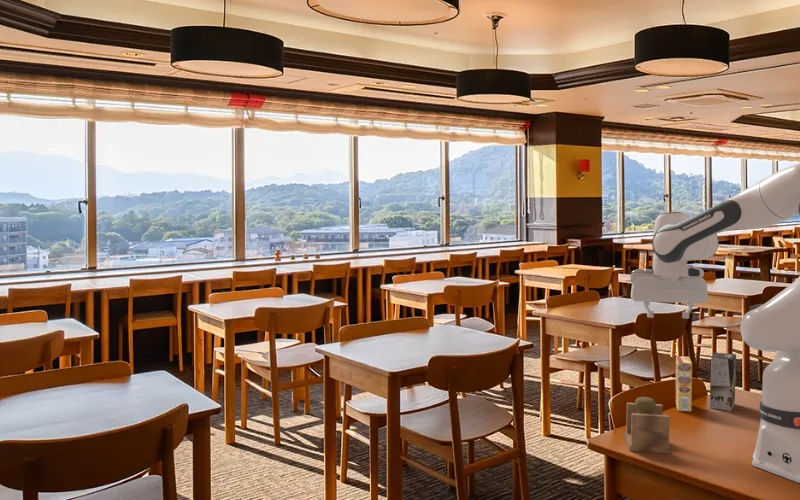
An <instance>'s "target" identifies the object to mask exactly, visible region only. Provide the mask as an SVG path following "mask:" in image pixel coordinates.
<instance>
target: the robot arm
mask: <svg viewBox="0 0 800 500" xmlns="http://www.w3.org/2000/svg"><path fill="white" fill-rule="evenodd" d="M798 214H799V215H798ZM797 215H798V216H800V163H796V164H794V165H790V166H788V167H785V168H783V169H780V170H778V171H775V172H773V173H772V174H770V175H768V176H766V177H764V178H763V179H761V180H759V181H757V182H756V183H754V184H753V185H751V186H749V187H747V188H745V189H743V190H742V191H740V192H738V193H736V194H735V195H733V196H731V197H730V198H728V199H725V200H724V201H722V202H721V203H718V204H715V206H712V207H710V208H708V209H707V208H706V209H705V210H703V211H702V212H699V213H697V214H695V215H693V216H691V217H690V218H689V217H688V215H687V214H686V213H684V212H682V211H671V212H664V213H661V214H659V215H658V216H657V217H656V218H655V221H654V224H653V225H654V226H653V236H652V240H651V241H652V242H651V245H652V250H653V255H652V268H644V269H641V268H637V269H635V270H633V271H631V273H630V275H629V276H630V278H629V279H630V283H631V290H630V298H631V300H632V301H633V302H636V303H637V302H638V303H639V302H643V306H644V308H645V310H646V312H647V313H646V314H647V315H646V317H647V318H654V316H655V315H654V311H653V310H650V308H649V306H651V305H650V304H651V303H678V304H679V303H686V306H687V308H686V310H685V311H682V313H681V314H682V315H681V318H682V319H683V320H687V319H690V313H691V312H692V310H693V308H694V307H695V306H694V305H695V304H706V302H707V301H708V298H709V295H708V284H707V282H706V280H705V279H704V278H703V277H704V276H705V275H704V274H705V272H704V270H703V269H702V268H700V267H696V266H694V265H692V264H687V261H690V262H691V261H701V260H702V261H703V260H706V259H711V258H712V257H713V256H714V255H716V253H717V251H718V248H719V242H720V241H719V236H718V234H720V233H723V232H728V231H737V230H739V231H740V230H746V229H747V230H748V229H749V230H754V229H763V228H768V227H771V226H775V225H777V224H780V223H781V224H782V223H783V222H785V221H787V220H789V219H791V218H794V217H796V216H797ZM740 320H741V321H740V326H739V327H740V329H739V330H740V335H741V337H742V339H743V341H744V343H745V344H746V345H747V346H749V348H752V349H753V350H758V351H763V352H771V353H776V354H775V356H774V358H773V359H772V360H771V362H770V363H769V364H768V365H767V366H766V367H765V368H764V369H763V373H762V384H761V389H762V390H761V401H760V403H759V408H758V412H759V415H758V417H760V424H759V428H758V432H757V439H756V444H755V445H756V446H755V449H754V450H753V451H754V452H753V454H752V461H751V465H752V466H753V467H755V468H759V469H761V470H764V471H766V472H769V473H771V474H774V475H777V476H779V477H783V478H785V479H787V480H790V481H792V482H796V483H798V484H800V275H799V276H798V277H797V279H795V280H794V281H793V282H792V283H790V284H789V285H788V286H787V287H785V288H784V289H783V290H781V291H780V292H779V293H777V294H776V295H774V296H773V297H772V298H771V299H769V300H768V301H766V302H765V303H763V304H762V305H759V306H757V307H756V308H753V309H752V310H749V311H747V312H746V313H745V314H744V315H743V316H742V319H740Z"/></svg>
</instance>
